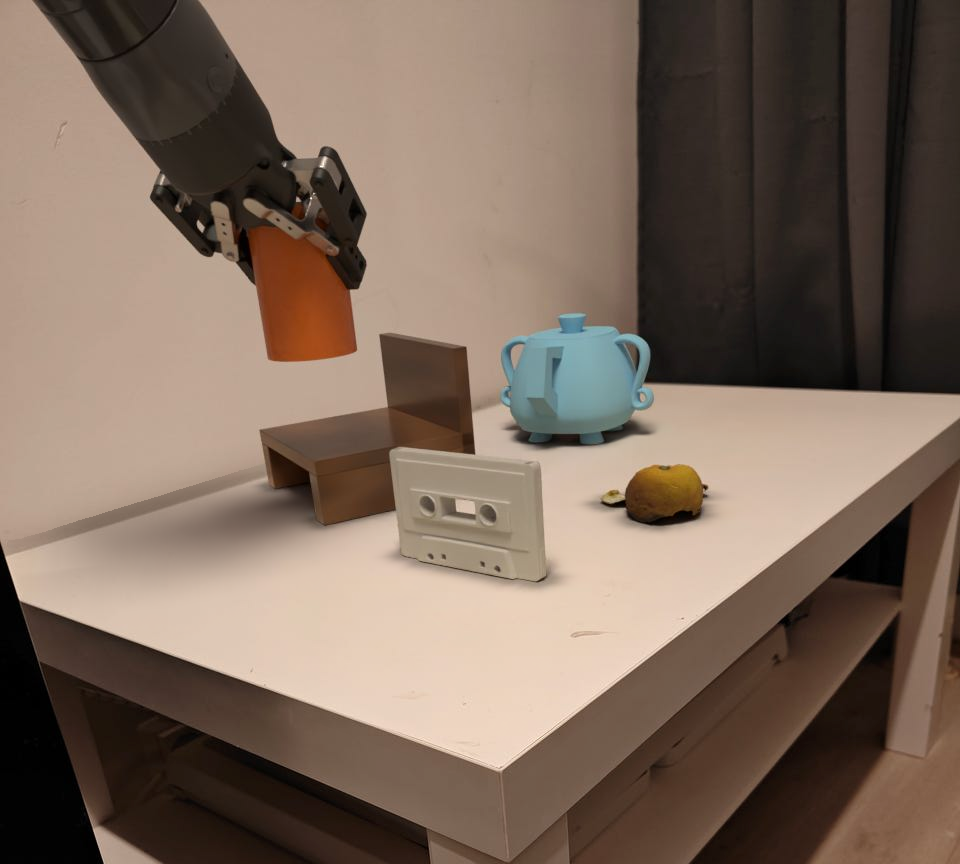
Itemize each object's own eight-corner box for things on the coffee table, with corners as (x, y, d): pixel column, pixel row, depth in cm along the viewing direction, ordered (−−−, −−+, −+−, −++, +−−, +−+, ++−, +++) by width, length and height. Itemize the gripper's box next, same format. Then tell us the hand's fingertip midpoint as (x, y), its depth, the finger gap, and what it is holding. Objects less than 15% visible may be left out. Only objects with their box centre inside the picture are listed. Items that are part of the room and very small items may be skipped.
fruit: (700, 489, 75) (700, 444, 74) (730, 520, 68) (732, 470, 66) (598, 499, 75) (597, 454, 74) (617, 531, 68) (616, 481, 66)
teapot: (622, 460, 85) (620, 325, 80) (463, 453, 93) (452, 329, 88) (684, 413, 101) (685, 298, 96) (543, 410, 109) (538, 303, 104)
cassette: (395, 557, 66) (382, 451, 63) (413, 549, 68) (400, 444, 64) (535, 585, 59) (529, 467, 56) (551, 575, 61) (546, 459, 58)
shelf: (324, 525, 75) (300, 372, 70) (268, 484, 88) (245, 353, 83) (478, 491, 80) (466, 346, 75) (404, 457, 93) (390, 332, 88)
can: (282, 365, 65) (257, 204, 61) (257, 356, 71) (232, 208, 66) (370, 352, 68) (352, 197, 63) (340, 344, 73) (321, 201, 69)
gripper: (299, 18, 52) (414, 235, 67) (102, 53, 58) (248, 246, 72) (261, 122, 50) (388, 322, 65) (60, 148, 56) (219, 327, 70)
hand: (314, 281), depth 68 cm, fingers closed on can, 6 cm apart
